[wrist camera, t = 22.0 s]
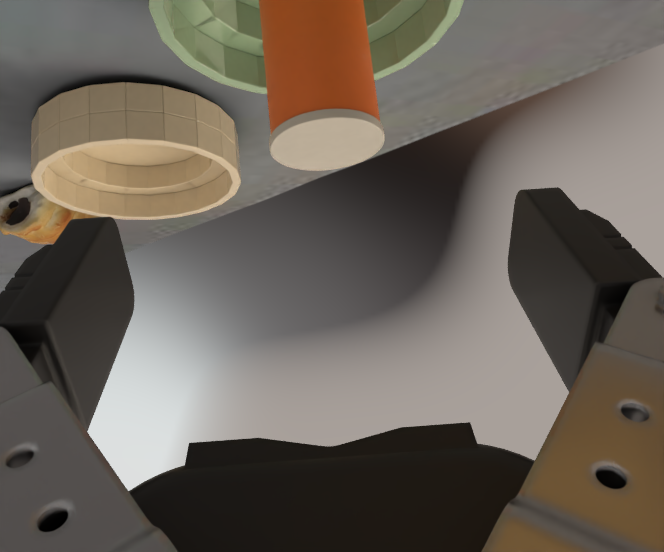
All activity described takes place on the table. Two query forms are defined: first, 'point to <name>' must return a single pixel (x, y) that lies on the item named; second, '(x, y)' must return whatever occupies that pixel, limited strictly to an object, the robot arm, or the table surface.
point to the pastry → (34, 216)
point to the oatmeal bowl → (134, 152)
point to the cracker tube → (319, 83)
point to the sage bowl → (247, 46)
